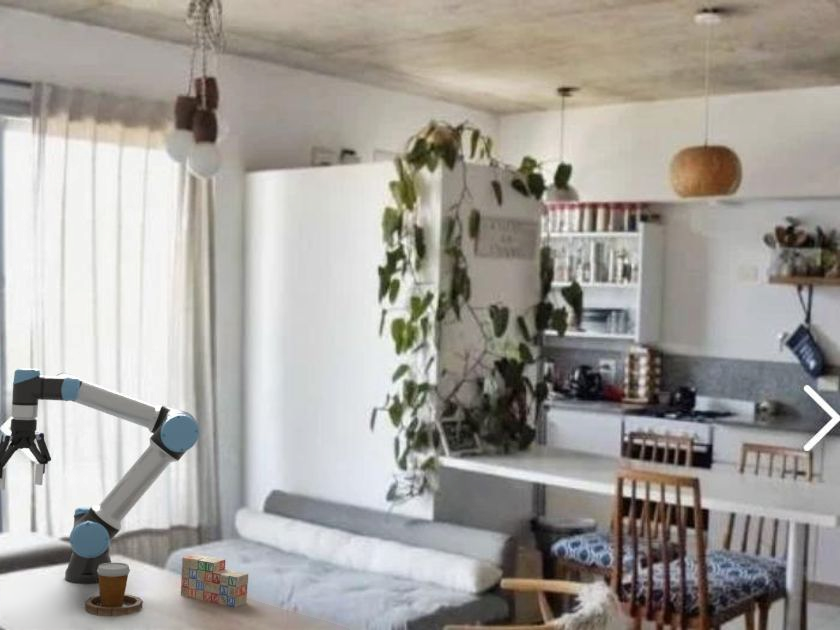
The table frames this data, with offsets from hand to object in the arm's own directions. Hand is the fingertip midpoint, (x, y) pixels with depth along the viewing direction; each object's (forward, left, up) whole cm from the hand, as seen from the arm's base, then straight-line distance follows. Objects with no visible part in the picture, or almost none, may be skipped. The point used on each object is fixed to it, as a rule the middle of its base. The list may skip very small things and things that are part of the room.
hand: (20, 486), depth 322 cm
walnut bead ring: (-7, +37, -32) cm, 49 cm away
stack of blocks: (-34, +51, -32) cm, 69 cm away
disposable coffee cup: (-8, +35, -32) cm, 48 cm away
